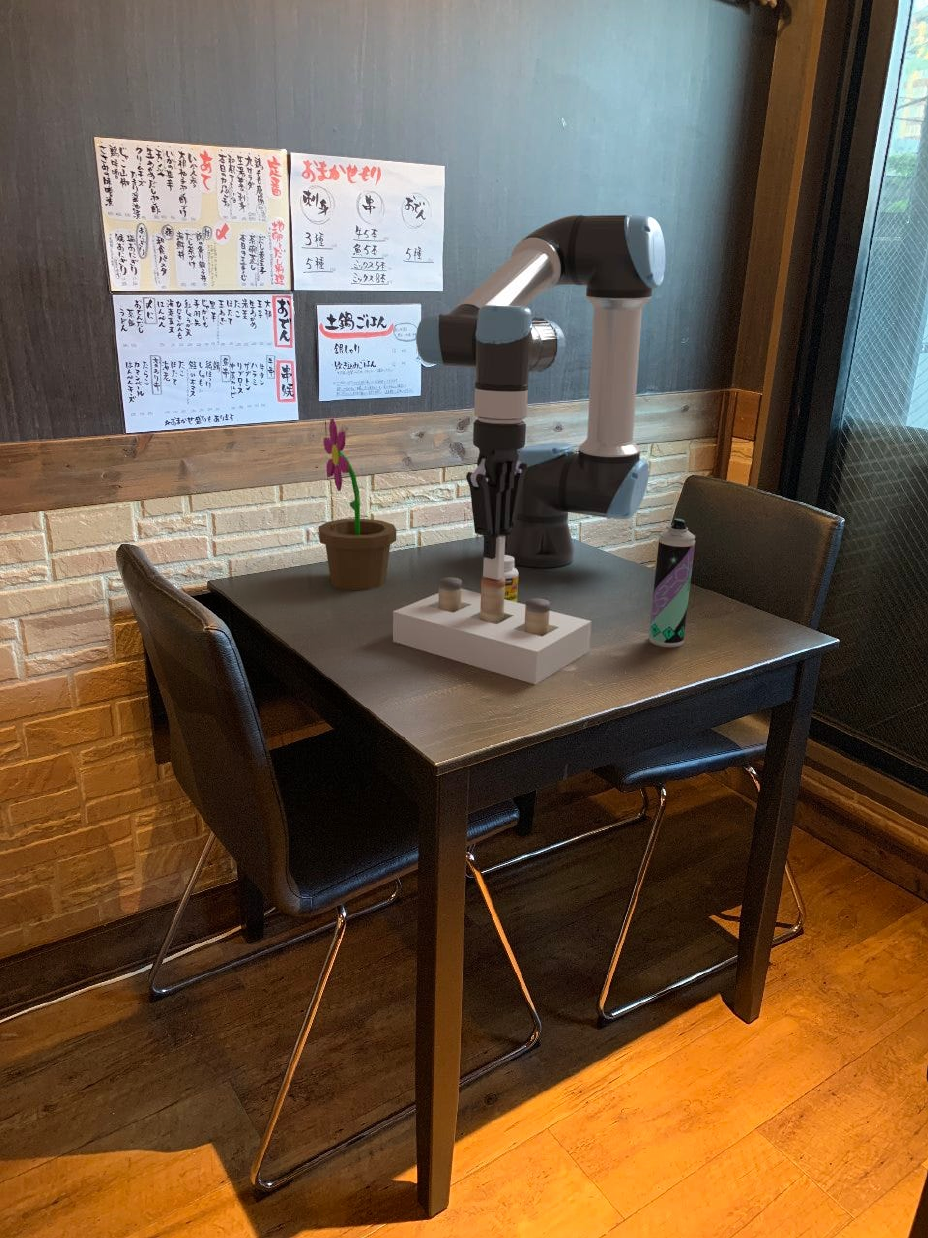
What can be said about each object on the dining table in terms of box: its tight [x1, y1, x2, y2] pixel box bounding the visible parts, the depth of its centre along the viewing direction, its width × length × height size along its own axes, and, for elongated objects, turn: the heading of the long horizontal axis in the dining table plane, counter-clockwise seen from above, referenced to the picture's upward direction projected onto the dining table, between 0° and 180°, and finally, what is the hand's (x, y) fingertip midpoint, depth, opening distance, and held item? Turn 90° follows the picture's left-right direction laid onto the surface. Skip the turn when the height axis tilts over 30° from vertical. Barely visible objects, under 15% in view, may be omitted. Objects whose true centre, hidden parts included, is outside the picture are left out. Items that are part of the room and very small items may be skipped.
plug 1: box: [438, 576, 463, 613], centre depth 147 cm, size 4×4×9 cm
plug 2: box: [480, 576, 505, 624], centre depth 142 cm, size 4×4×9 cm
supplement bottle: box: [503, 555, 519, 603], centre depth 156 cm, size 6×6×10 cm
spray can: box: [648, 517, 696, 648], centre depth 146 cm, size 6×6×20 cm
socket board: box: [392, 588, 593, 685], centre depth 144 cm, size 16×26×5 cm, turn 55°
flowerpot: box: [318, 418, 397, 591], centre depth 168 cm, size 14×14×30 cm
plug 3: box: [524, 597, 551, 637], centre depth 139 cm, size 4×4×9 cm
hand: (493, 577), depth 141 cm, fingers closed
